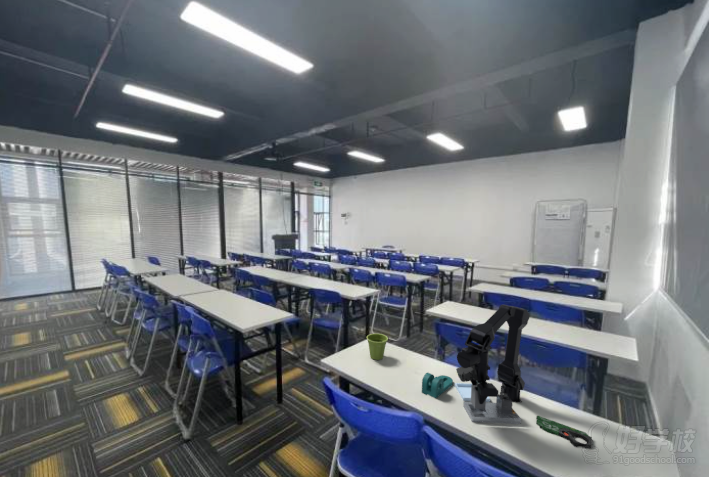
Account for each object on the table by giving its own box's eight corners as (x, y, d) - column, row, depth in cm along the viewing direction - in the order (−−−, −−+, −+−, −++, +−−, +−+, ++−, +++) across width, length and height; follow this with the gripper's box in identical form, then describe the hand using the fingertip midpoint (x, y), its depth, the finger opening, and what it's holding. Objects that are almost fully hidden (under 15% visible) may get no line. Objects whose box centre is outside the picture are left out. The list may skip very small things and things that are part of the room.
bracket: (435, 400, 119) (436, 382, 118) (421, 393, 124) (422, 375, 123) (455, 384, 131) (455, 367, 131) (441, 378, 136) (442, 362, 136)
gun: (534, 428, 102) (536, 413, 110) (534, 432, 102) (536, 417, 110) (593, 450, 92) (591, 433, 100) (592, 455, 92) (590, 437, 100)
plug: (480, 402, 111) (481, 381, 111) (485, 408, 107) (486, 387, 107) (470, 401, 111) (471, 380, 111) (474, 408, 107) (475, 386, 107)
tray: (478, 387, 129) (479, 383, 129) (490, 402, 117) (490, 398, 117) (454, 386, 129) (454, 382, 129) (463, 401, 118) (463, 397, 118)
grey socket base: (507, 409, 113) (508, 387, 113) (520, 424, 104) (521, 401, 104) (463, 407, 114) (464, 385, 114) (471, 423, 105) (472, 399, 105)
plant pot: (361, 357, 155) (362, 337, 155) (374, 350, 164) (374, 331, 164) (379, 364, 148) (379, 343, 147) (391, 357, 157) (392, 337, 156)
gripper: (451, 350, 118) (450, 386, 119) (468, 373, 99) (466, 415, 100) (478, 350, 118) (476, 386, 118) (500, 374, 99) (498, 416, 100)
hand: (478, 400), depth 109 cm, fingers closed on plug, 4 cm apart
